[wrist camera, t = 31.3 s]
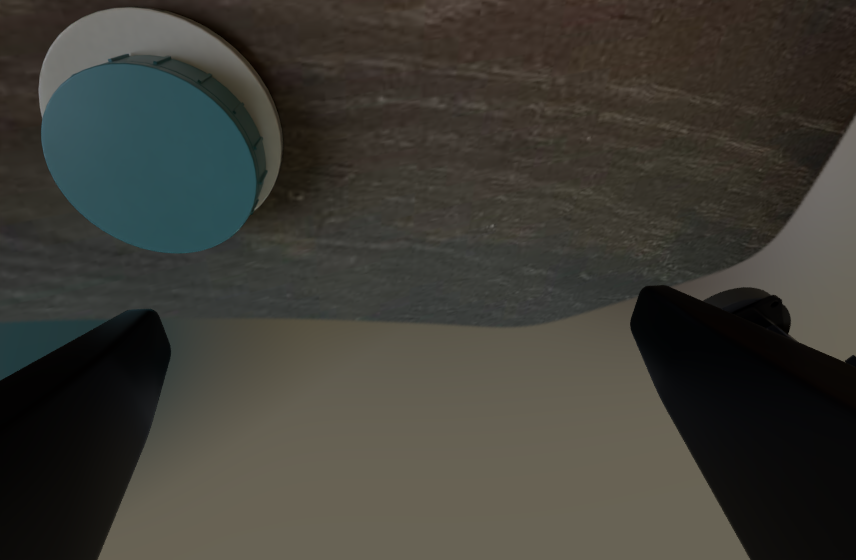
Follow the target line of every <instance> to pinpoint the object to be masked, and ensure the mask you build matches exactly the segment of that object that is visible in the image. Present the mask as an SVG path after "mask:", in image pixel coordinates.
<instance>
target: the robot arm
mask: <svg viewBox="0 0 856 560" xmlns="http://www.w3.org/2000/svg"><path fill="white" fill-rule="evenodd" d="M630 326H631V331H632V334H633V336H634V339H635V341H636V343H637V346H638V348H639V351H640V353H641V355H642V357H643V360H644V362H645V365H646V367H647V369H648V372H649V374H650V376H651V378H652V381H653V383H654V386H655V388H656V389H657V392H658V394H659V396H660V398H661V400H662V402H663V404H664V406H665V408H666V410H667V412H668V413H669V415H670V417H671V419H672V420H673V422H674V424H675V426H676V427H677V429H678V431H679V433H680V435H681V436H682V438H683V440H684V442H685V444H686V445H687V447H688V449H689V451H690V452H691V454H692V456H693V458H694V460H695V462H696V463H697V465H698V467H699V469H700V470H701V472H702V474H703V476H704V478H705V479H706V481H707V483H708V485H709V487H710V488H711V490H712V492H713V494H714V495H715V497H716V499H717V501H718V503H719V505H720V506H721V508H722V510H723V512H724V513H725V515H726V517H727V519H728V521H729V522H730V524H731V526H732V528H733V529H734V531H735V533H736V535H737V537H738V538H739V540H740V542H741V544H742V545H743V547H744V549H745V551H746V553H747V555H748V556H749V558H750V560H856V357H855V356H854V355H852V356H851V357H850V358H848V359H847V360H845V362H843V361H841V360H839V359H836V358H834V357H832V356H829V355H827V354H825V353H822V352H820V351H818V350H815V349H813V348H810V347H808V346H806V345H804V344H801V343H799V342H797V341H796V340H795V339H794V338H793V337H791V336H790V335H789V334H788V333H787V332H785V331H784V318H783V304H782V299H780V298H779V297H778V296H776V295H770V296H767V297H765V298H763V299H761V300H758V301H756V302H754V303H752V304H750V305H747V306H745V307H743V308H741V309H738V310H736V311H734V312H732V313H729V312H727V311H724V310H722V309H720V308H717V307H715V306H713V305H710V304H708V303H706V302H703V301H701V300H698V299H696V298H694V297H692V296H689V295H687V294H685V293H682V292H680V291H678V290H675V289H673V288H671V287H669V286H665V285H657V286H646V287H644V288H643V289H642V290H641V291H640V293H639V296H638V299H637V302H636V305H635V308H634V311H633V314H632V317H631V322H630ZM170 356H171V348H170V343H169V341H168V338H167V335H166V333H165V330H164V327H163V325H162V322H161V320H160V317H159V315H158V313H157V312H156V311H154V310H152V309H136V310H127V311H125V312H123V313H121V314H120V315H118V316H116V317H114V318H112V319H111V320H109V321H107V322H105V323H103V324H102V325H100V326H98V327H96V328H94V329H93V330H91V331H89V332H87V333H85V334H84V335H82V336H80V337H78V338H76V339H75V340H73V341H71V342H69V343H67V344H65V345H64V346H62V347H60V348H58V349H56V350H55V351H53V352H51V353H49V354H47V355H46V356H44V357H42V358H40V359H38V360H37V361H35V362H33V363H31V364H29V365H28V366H26V367H24V368H22V369H20V370H19V371H17V372H15V373H13V374H12V375H10V376H8V377H6V378H4V379H2V380H1V381H0V560H97V559H98V557H99V555H100V552H101V550H102V547H103V545H104V542H105V540H106V537H107V535H108V532H109V530H110V528H111V525H112V523H113V521H114V518H115V516H116V513H117V511H118V508H119V506H120V503H121V501H122V499H123V496H124V494H125V491H126V489H127V486H128V484H129V482H130V479H131V477H132V474H133V472H134V469H135V467H136V465H137V462H138V460H139V457H140V455H141V452H142V450H143V448H144V445H145V442H146V440H147V437H148V434H149V431H150V428H151V425H152V422H153V418H154V415H155V411H156V407H157V403H158V400H159V397H160V393H161V389H162V386H163V382H164V379H165V375H166V371H167V368H168V364H169V361H170Z"/></svg>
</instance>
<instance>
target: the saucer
mask: <svg viewBox="0 0 856 560" xmlns="http://www.w3.org/2000/svg"><path fill="white" fill-rule="evenodd" d="M124 54H129V56H135V55H153V56H162V57H165V56H171V59H175V60H178V61H181V62H184V63H187V64H189V65H192V66H194V67H196V68H198V69H200V70H202V71H204V72H205V73H207V74H208V73H210V74H212V77H213V78H215V79H216V80H217V81H219V82H220V83H221V84H222V85H224V86H225V87H226V88H227V89H228V90H229V91H230V92H231V93H232V94H233V95H234V96H235V97H236V98H237V99H238V100H239V101H240V102H241V103H242V102H243V103H244V104H245V105H244V107H245V108H246V110H247V111H248V113H249V114H250V116H251V118H252V119H253V121H254V123H255V125H256V127H257V129H258V131H259V134H260V136H261V137H263V141H262V142H263V146H264V151H265V158H266V170H268V173H267V175H266V177H265V179H264V184H263V187H262V190H261V192H260V195H259V197H258V199H259V202H258V204H257V206H256V208H255V210H256V209H257V208H258V207H259V206H260V205H261V204H262V203H263V202H264V201H265V199H266V198H267V197H268V195H269V194H270V192H271V190H272V188H273V186H274V184H275V182H276V179H277V177H278V174H279V171H280V167H281V163H282V158H283V136H282V128H281V123H280V119H279V115H278V112H277V109H276V107H275V104H274V101H273V99H272V97H271V95H270V93H269V91H268V89H267V87H266V86H265V84H264V82H263V81H262V79H261V78H260V76H259V75H258V73H257V72H256V71H255V70H254V68H253V67H252V66H251V64H250V63H249V62H248V61H247V60H246V59H245V58H244V57H243V56H242V55H241V54H240V53H239V52H238V51H237V50H236V49H235V48H234V47H233V46H232V45H230V44H229V43H228V42H227V41H226V40H224V39H223V38H222V37H221V36H219V35H217V34H216V33H214V32H213V31H211V30H210V29H208V28H207V27H205V26H203V25H201V24H199V23H197V22H195V21H193V20H191V19H189V18H186V17H184V16H181V15H178V14H175V13H173V12H168V11H164V10H160V9H156V8H147V7H119V8H111V9H107V10H102V11H97V12H95V13H92V14H89V15H87V16H84V17H82V18H80V19H79V20H77V21H76V22H74V23H72V24H71V25H69V26H68V27H67V28H66V29H65V30H64V31H63V32H62V33H61V34H59V35H58V37H57V38H56V40H55V41H54V42H53V44H52V45H51V46H50V48H49V50H48V52H47V54H46V56H45V59H44V61H43V65H42V69H41V72H40V78H39V105H40V110H41V114H42V119H43V115H44V112H45V109H46V106H47V103H48V102H49V100H50V98H51V96H52V95H53V93H54V92H55V91H56V90H57V88H58V87H59V86H60V85H61V84H62V83H63V82H65V81H66V80H67V79H68V78H70V77H71V75H72V74H75V73H78V72H80V71H82V70H84V69H87V68H90V67H93V66H96V65H100V64H103V63H106V62H108V59H110V58H114V57H117V56H120V55H124ZM255 210H254V211H255Z"/></svg>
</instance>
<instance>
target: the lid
mask: <svg viewBox="0 0 856 560" xmlns="http://www.w3.org/2000/svg"><path fill="white" fill-rule="evenodd" d="M244 105H245V104H244V103H243V102H242V103H241V102H240V101H239V100H238V99H237V98H236V97H235V96H234V95H233V94H232V93H231V92H230V91H229V90H228V89H227V88H226V87H225V86H224V85H222V84H221V83H220V82H219V81H217V80H216V79H215V78H213V77H212V74H210V73H208V74H207V73H205V72H204V71H202V70H200V69H198V68H196V67H194V66H192V65H189V64H187V63H184V62H181V61H178V60H175V59H171V56H165V57H162V56H153V55H135V56H129V54H124V55H120V56H117V57H114V58H110V59H108V62H106V63H103V64H100V65H96V66H93V67H90V68H87V69H84V70H82V71H80V72H78V73H75V74H72V75H71V77H70V78H68V79H67V80H66V81H65V82H63V83H62V84H61V85H60V86H59V87H58V88H57V90H56V91H55V92H54V93H53V95H52V96H51V98H50V100H49V102H48V103H47V106H46V109H45V112H44V115H43V119H42V127H41V141H42V147H43V153H44V157H45V160H46V163H47V166H48V168H49V170H50V173H51V175H52V177H53V179H54V181H55V182H56V184H57V185H58V187H59V189H60V190H61V192H62V193H63V194H64V196H65V197H66V198H67V199H68V201H69V202H70V203H71V204H72V205H73V206H74V207H75V208H76V209H77V210H78V211H79V212H80V213H81V214H82V215H83V216H84V217H85V218H87V219H88V220H89V221H90V222H91V223H93V224H94V225H96V226H97V227H99V228H100V229H101V230H103V231H104V232H106V233H108V234H110V235H112V236H113V237H115V238H117V239H119V240H122V241H124V242H126V243H128V244H131V245H134V246H137V247H140V248H143V249H147V250H151V251H157V252H163V253H191V252H197V251H202V250H205V249H209V248H212V247H214V246H216V245H219V244H221V243H223V242H224V241H226V240H227V239H229V238H230V237H232V236H233V235H234V234H235V233H236V232H237V231H239V229H240V228H241V227H242V226H243V225H244V223H245V222H246V220H247V219H248V217H249V215H250V214H251V215H252V214H253V212H254V210H255V208H256V206H257V204H258V202H259V199H258V197H259V195H260V192H261V190H262V187H263V184H264V179H265V177H266V175H267V173H268V170H266V158H265V151H264V146H263V142H262V141H263V137H261V136H260V134H259V131H258V129H257V127H256V125H255V123H254V121H253V119H252V118H251V116H250V114H249V113H248V111H247V110H246V108H245V107H244Z"/></svg>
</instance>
